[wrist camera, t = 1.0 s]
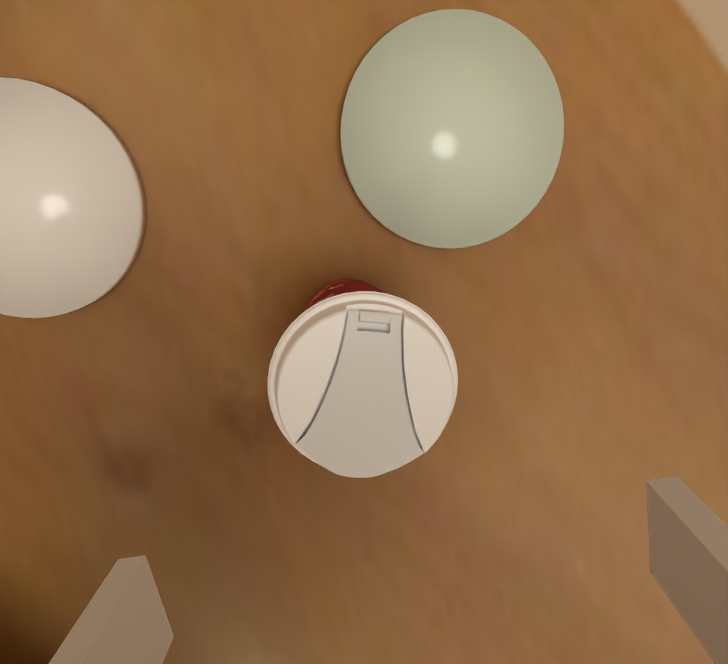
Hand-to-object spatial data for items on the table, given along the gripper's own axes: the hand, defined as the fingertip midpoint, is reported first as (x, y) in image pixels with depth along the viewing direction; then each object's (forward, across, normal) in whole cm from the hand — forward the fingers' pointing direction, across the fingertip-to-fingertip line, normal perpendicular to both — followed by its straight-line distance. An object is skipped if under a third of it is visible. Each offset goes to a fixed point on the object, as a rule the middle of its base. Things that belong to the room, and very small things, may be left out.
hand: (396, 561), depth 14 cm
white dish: (+20, +19, -12) cm, 30 cm away
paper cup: (+21, +2, -1) cm, 21 cm away
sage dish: (+22, -6, -11) cm, 25 cm away
